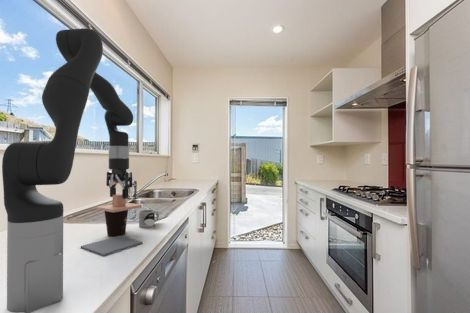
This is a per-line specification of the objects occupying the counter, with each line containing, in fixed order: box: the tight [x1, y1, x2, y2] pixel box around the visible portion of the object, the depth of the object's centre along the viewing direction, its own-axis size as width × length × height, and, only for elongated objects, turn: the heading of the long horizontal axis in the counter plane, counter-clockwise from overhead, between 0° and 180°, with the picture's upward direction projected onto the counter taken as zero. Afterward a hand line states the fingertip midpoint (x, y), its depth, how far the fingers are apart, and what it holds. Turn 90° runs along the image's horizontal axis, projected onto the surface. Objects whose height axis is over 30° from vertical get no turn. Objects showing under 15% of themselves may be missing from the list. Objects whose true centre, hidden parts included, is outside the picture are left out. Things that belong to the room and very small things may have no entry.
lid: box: [95, 193, 142, 213], centre depth 102 cm, size 12×12×6 cm
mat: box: [80, 235, 144, 257], centre depth 86 cm, size 14×14×1 cm
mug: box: [138, 209, 160, 229], centre depth 114 cm, size 10×7×7 cm, turn 148°
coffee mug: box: [104, 210, 129, 238], centre depth 101 cm, size 12×9×10 cm
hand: (119, 197), depth 102 cm, fingers open, 8 cm apart
